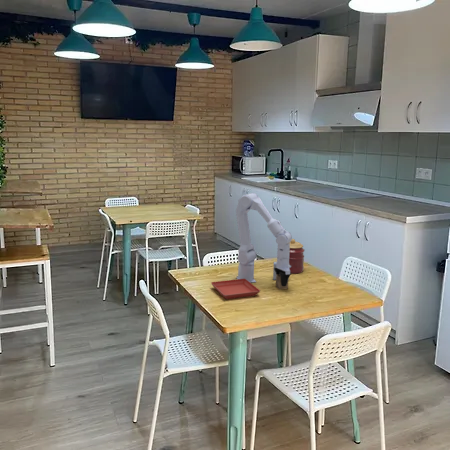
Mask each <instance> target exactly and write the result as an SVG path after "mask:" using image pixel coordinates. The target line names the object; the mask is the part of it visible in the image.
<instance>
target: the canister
mask: <svg viewBox="0 0 450 450" xmlns="http://www.w3.org/2000/svg"><path fill="white" fill-rule="evenodd" d="M303 247H304V245H303V244H302V243H301V242H298V241H296V239H294V238H292V240H291V242H290V252H289V265H290V266H291V268H289V269H290V272H291V275H292V274H301V273H303V271H304V268H305V267H304V262H305V261H304V260H305V254H304V252H305V249H304V248H303Z"/></svg>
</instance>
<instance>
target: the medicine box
mask: <svg viewBox="0 0 450 450" xmlns="http://www.w3.org/2000/svg"><path fill="white" fill-rule="evenodd" d="M276 262H277V261H273V268H272V269H273V272H272V273H273V274H272V275H273V276H272V280H273V281H276V272H275V270H274V268H276ZM289 279H290V278H289ZM289 279H288V281H290V280H289Z"/></svg>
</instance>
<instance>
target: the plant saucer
mask: <svg viewBox="0 0 450 450" xmlns="http://www.w3.org/2000/svg"><path fill="white" fill-rule="evenodd" d="M210 284H211V285H212V286H213V288H214V289H215V290H216V291H217V292H218V293H219V295H221V296H222V297H223V298H225V300H231V299H232V300H234V299H240V298H249V297H255V296H257V295H258V294H259V293H260V292H261V290H260V289H259V288H258V287H257V286H255V285H254V284H253V283H250V282H249V281H247V280H246V279H237V278H236V279H229V280H228V279H227V280H219V281H218V280H217V281H212V282H210Z"/></svg>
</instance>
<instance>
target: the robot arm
mask: <svg viewBox="0 0 450 450" xmlns="http://www.w3.org/2000/svg"><path fill="white" fill-rule="evenodd" d="M237 201H238V202H237V205H236V209H235V214H236V215H235V216H236V221H237V228H238V229H237V231H238V235H239V236H238V237H239V245H240V246H239V248H238V251H237V252H238V255H237V261H238V266H237V267H238V269H237V276H236V277H235V278H236V279H246V280H247V281H249V282H250V283H251V284H253V283H257V281H256V279H255V260H256V259H257V257H258V255H257V254H258V253H257V252H256V250H255V247H254V245H253V244H252V239H251V231H250V224H249V215H248V212H249V211H250V210H252V211H256V212H258V213H259V215H260V216H261V217H262V218H263V219H264V221H265V222H266V224H267V228H268V230H269V231H270V232H271V234H272V235H273V236H274V237H275V242H276V244H277V253H276V254H277V256H276V261H275V262H276V268H274V267H273V268H274V270H275V272H276V274H280V278H281V285H282V286H286V285H287V281H288V282H289V280H288V279H290V277H291V275H292V273H291V272H290V269H289V268H291V266H290V265H289V252H290V242H291V240H292V239H293V236H292V234H291V232H290V231H287V230H286V229H285V228H284V226H282V224H281V221H280V220H278V219H275V218H273V216H272V215H271V213H270V211H268V208H267V207H266V206H265V205H264V203H263V201H262V199H261V197H259V195H258V194H257V193H255V192H251V193H250V192H249V193H247V194H243V195H241V196H240V197H239V198H238V199H237Z"/></svg>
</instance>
